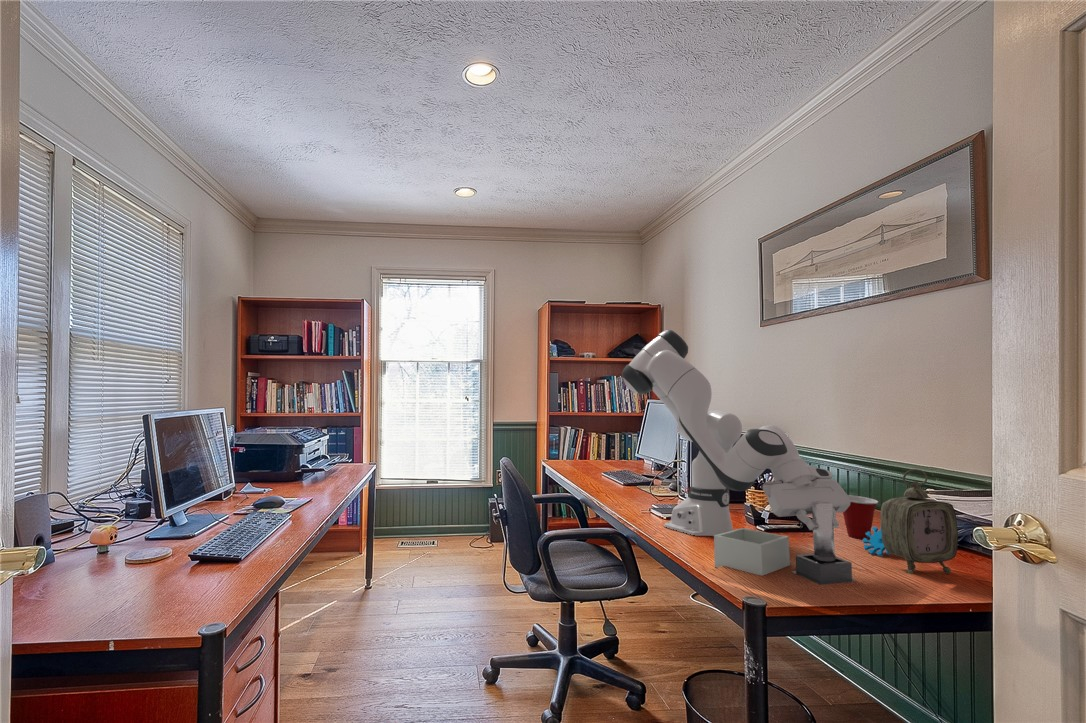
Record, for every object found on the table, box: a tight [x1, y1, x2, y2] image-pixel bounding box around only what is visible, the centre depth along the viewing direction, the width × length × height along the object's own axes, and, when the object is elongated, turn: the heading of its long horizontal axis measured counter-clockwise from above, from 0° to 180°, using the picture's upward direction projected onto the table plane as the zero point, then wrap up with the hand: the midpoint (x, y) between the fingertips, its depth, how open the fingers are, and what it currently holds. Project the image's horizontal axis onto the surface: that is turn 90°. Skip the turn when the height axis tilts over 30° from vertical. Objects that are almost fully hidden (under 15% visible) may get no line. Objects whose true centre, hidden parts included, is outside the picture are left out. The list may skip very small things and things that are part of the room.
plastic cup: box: [842, 494, 879, 540], centre depth 174 cm, size 11×11×12 cm
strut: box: [811, 502, 837, 564], centre depth 133 cm, size 5×5×14 cm
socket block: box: [791, 553, 858, 586], centre depth 133 cm, size 10×10×5 cm
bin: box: [713, 527, 791, 576], centre depth 143 cm, size 13×13×8 cm
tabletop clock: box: [880, 468, 959, 575], centre depth 139 cm, size 14×9×25 cm, turn 101°
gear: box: [862, 525, 891, 557], centre depth 155 cm, size 11×6×10 cm
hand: (825, 527), depth 133 cm, fingers closed on strut, 4 cm apart
